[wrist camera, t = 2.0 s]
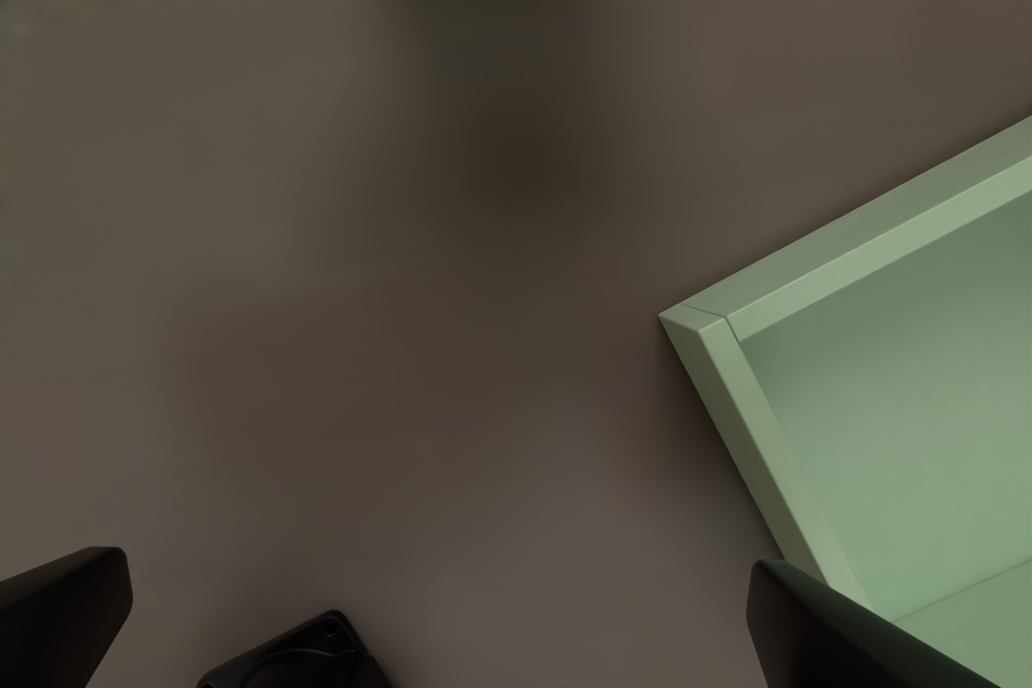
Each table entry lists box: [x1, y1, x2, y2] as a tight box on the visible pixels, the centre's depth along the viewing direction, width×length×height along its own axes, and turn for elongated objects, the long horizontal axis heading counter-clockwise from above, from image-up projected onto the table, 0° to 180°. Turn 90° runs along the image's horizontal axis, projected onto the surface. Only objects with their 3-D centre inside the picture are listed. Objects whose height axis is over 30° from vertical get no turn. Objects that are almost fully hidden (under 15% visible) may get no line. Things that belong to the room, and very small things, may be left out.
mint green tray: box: [658, 115, 1032, 688], centre depth 17 cm, size 15×15×5 cm
